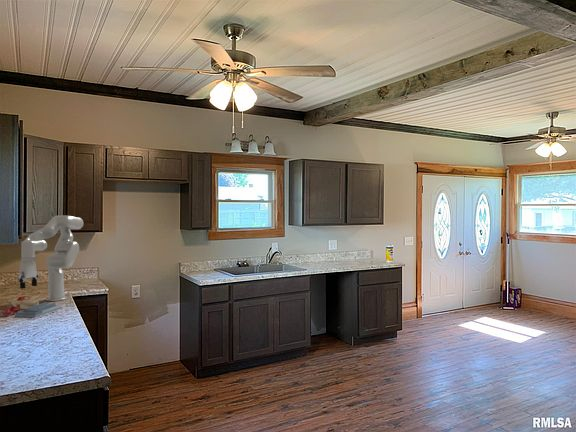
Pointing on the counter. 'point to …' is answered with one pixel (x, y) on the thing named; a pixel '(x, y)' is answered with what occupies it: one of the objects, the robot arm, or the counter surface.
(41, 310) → the board
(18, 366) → the counter surface
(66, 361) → the counter surface
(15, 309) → the toy fire truck
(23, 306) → the tan long rectangular block
